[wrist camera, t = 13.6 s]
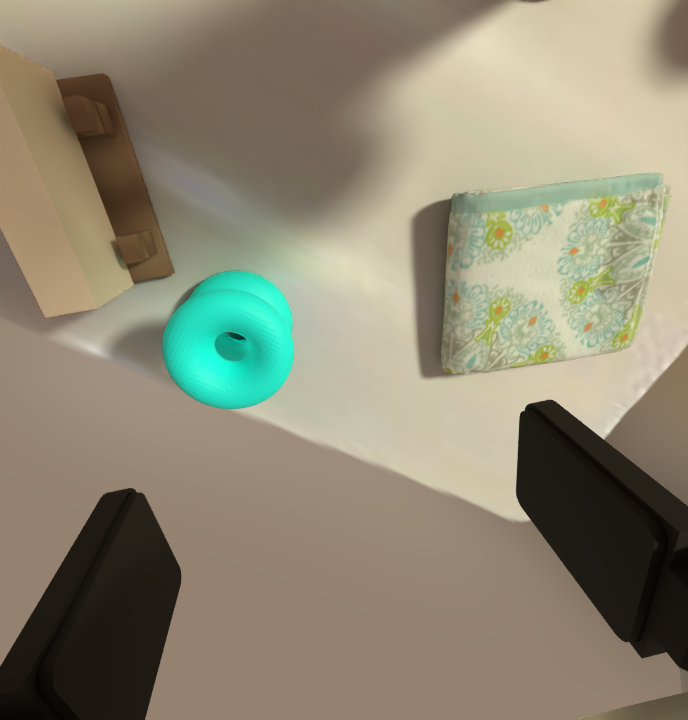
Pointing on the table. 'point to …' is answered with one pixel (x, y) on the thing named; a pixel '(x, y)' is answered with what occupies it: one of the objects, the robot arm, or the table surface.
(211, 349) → the donuts
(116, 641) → the robot arm
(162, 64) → the table surface
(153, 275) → the rack
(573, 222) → the towel
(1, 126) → the cream rectangular block
